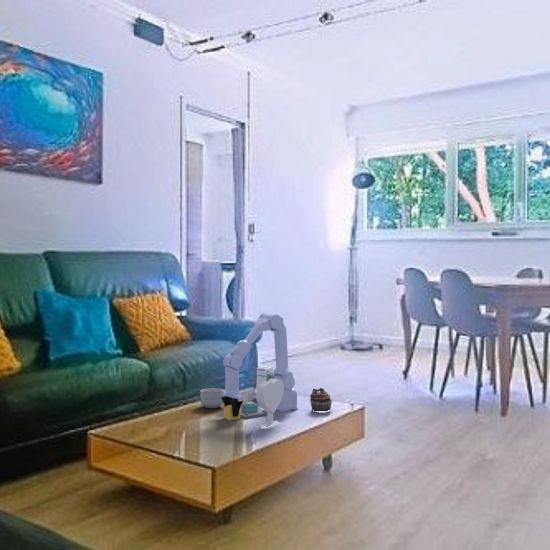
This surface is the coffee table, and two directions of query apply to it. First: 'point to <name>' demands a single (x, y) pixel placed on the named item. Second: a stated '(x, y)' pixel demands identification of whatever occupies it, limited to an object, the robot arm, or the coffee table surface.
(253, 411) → the base plate
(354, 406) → the coffee table surface
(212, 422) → the coffee table surface
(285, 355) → the robot arm
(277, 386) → the heart sculpture
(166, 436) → the coffee table surface
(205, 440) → the coffee table surface
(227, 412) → the ochre brick
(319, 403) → the cupcake
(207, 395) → the teacup
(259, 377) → the syrup box
